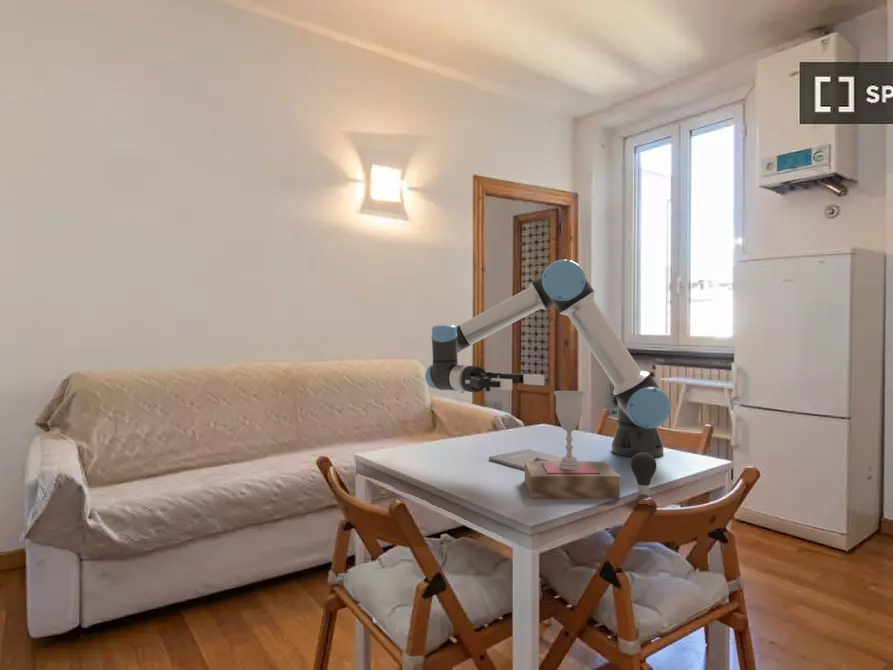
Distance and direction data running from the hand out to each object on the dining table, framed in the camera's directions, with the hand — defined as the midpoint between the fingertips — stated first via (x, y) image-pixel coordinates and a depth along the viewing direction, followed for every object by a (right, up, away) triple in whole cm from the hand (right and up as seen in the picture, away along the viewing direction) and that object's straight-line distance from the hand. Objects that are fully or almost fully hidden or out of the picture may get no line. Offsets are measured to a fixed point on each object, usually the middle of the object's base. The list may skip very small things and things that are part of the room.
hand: (528, 382), depth 146 cm
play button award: (+4, -25, +15) cm, 30 cm away
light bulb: (+24, -25, -17) cm, 38 cm away
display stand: (+8, -25, -11) cm, 28 cm away
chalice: (+8, -20, -11) cm, 24 cm away
